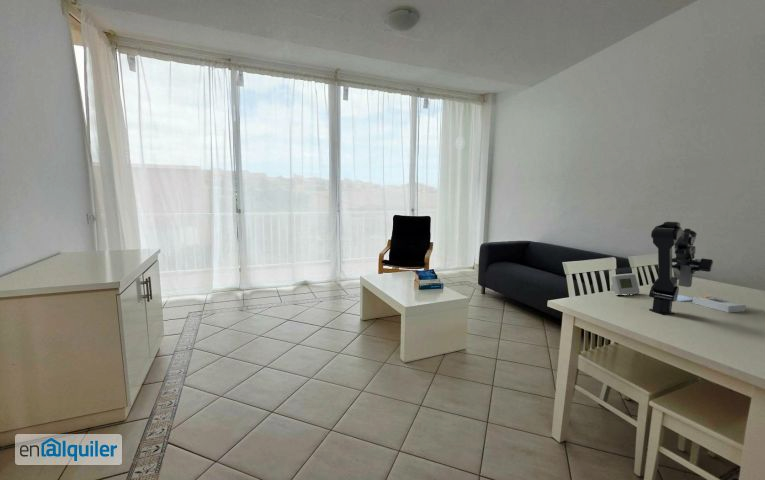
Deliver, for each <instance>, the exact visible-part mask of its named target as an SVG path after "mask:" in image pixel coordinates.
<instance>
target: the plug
mask: <svg viewBox="0 0 765 480" xmlns="http://www.w3.org/2000/svg"><path fill="white" fill-rule="evenodd" d="M692 267H693V266H683V265H681V266H680V272H679V276H678V282H677V287H683V288H684V287H685V288H690V287H692V283H693V275H694V274H692V272H691V270H692Z"/></svg>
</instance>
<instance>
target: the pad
mask: <svg viewBox="0 0 765 480" xmlns="http://www.w3.org/2000/svg"><path fill="white" fill-rule="evenodd" d="M667 296H668V295H667ZM676 301H678V302H680V301H681V303H682V301H683V302H693V297H689V296H686V295H683V294H678V297H677V300H676Z"/></svg>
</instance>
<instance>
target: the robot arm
mask: <svg viewBox="0 0 765 480" xmlns="http://www.w3.org/2000/svg"><path fill="white" fill-rule="evenodd" d="M697 234H698V233H697V232H696V231H694V230H691V228H684V230H683V228H682V227H681V222H679V221H664V222H663V223H661V224H659V225H656V226H655V227H654V228H653V229H652V231H651V234H650V236H651V238H652V244H653V245H654V246H655V247H656V248H657V255H658V256H657V258H658V259H657V261H658V265H657V266H658V267H657V269H658V276H657V279H655V281H654V282H653V284H652V285H651V287H650V291H649V295H648V296H649V298H653V301H652V308H648V311H652V312H654V313H656V314H660V315H675V313H676V312H674V311H672V308H673V303H674V302H676V301H677V297H678V295H679V292H680V286H678V278H677V277H674V276H673V270H675V271H676V272H679V273H680V266H681V265H683V266H693V267H692V270H691V272H692V274H693V275H694V274H695V273H696V272H700V271H701V272H707V273H708V272H711V271H712V268H713V266H714V260H713V259H711V258H705V257H702V258H701V259H698V258H695V257H696V256H695V254H696V246H695V245H694V243H695V241H696V238H697ZM673 248H674V254H675V257H673ZM667 295H668V296H667Z"/></svg>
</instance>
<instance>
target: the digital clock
mask: <svg viewBox="0 0 765 480" xmlns="http://www.w3.org/2000/svg"><path fill="white" fill-rule="evenodd" d="M610 279H611V287H610V292H611V291H614V292H615V294H618V295H622V294H634V295H638V294H637V293H639V294H640V292H641V291H640V287H639V283H638V280H637V277H636V274H635V273H622V274H621V273H619V274H614V275H611V277H610ZM615 294H614V295H615Z"/></svg>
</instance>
